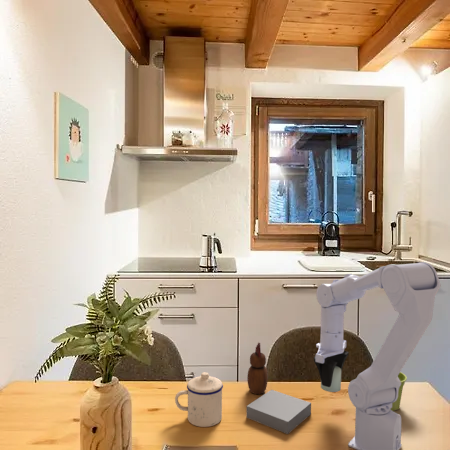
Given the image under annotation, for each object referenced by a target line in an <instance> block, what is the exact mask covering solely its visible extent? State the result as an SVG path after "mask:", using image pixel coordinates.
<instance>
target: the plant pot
mask: <svg viewBox="0 0 450 450" xmlns="http://www.w3.org/2000/svg"><path fill="white" fill-rule="evenodd" d="M398 378H399V380H400V382H401V385H400V387H399V391H398V398H397V400H396V401H395V402H393V403H392V408H391V410H392V411H393V412H395V411H396V410H400V406H401V400H402V396H403V395H402V394H403V388H404V386H405V383H406V381H407V379H408V377H407V375H406V374H404V373H403V372H401V371H400V373H399V375H398Z"/></svg>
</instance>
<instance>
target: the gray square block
mask: <svg viewBox="0 0 450 450" xmlns="http://www.w3.org/2000/svg"><path fill="white" fill-rule="evenodd" d="M245 410H246V411H245V412H246V415H245V417H246V418H247V419H249V420H252V421H254V422H257V423H259V424H261V425H263V426H265V427H266V426H267V427H269V428H272V429H275V430H277V431H279V432H281V433H284V434H286V435H289V434H290V433H291V432H292V431H293V430H294V429H296V428H297V427H298V426H299V425H300V424H302V423H303V422H304V421H305V420H306V419H308V417H309V416H311V415H312V402H311V401H306V400H303V399H301V398H298V397H296V396H295V397H294V396H291V395H289V394H286V393H283V392H280V391H277V390H274V389H270V390H269V391H267V392H266V393H263V395H261V396H260V397H258V398H256V399H255V400H254V401H252V402H251V403H249V404H248V405H247V404H246V409H245Z"/></svg>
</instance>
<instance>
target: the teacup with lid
mask: <svg viewBox="0 0 450 450" xmlns="http://www.w3.org/2000/svg"><path fill="white" fill-rule="evenodd" d="M223 388H224V385H223V382H222V380H220V379H219V378H217V377H215V376H211V375H210V374H209V372H207V371H205V372H204V371H202V372H201V374H200V375H199V376H195V377H193V378H191V379H190V380H188V381H187V384H186V389H185V390H180V391H178V392H177V393H175V396H174V397H175V398H174V401H175V406H176V407H177V408H178V409H179V410H181V411H183V412H187V420H188V422H189V423H190V424H191V425H193V426H196V427H200V428H208V427H212V426H215V425H217V424H219V423H220V422H221V420H222V419H223ZM183 395H187V406H184V405H181V403H180V402H179V397H180V396H183Z"/></svg>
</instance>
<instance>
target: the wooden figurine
mask: <svg viewBox="0 0 450 450" xmlns="http://www.w3.org/2000/svg"><path fill="white" fill-rule="evenodd" d="M266 361H267V358H266V355H265V353H263V352H261V342H257V344H256V346H255V352H252V353H251V354H250V357H249V364H250V367H249V368H248V371H247V386H248V390H249V391H250V392H251V393H252V394H255V395H262V394H264V393H265V392H266V390H267V388H268V387H267V386H268V379H269V375H268V368H267V367H266V363H267V362H266Z"/></svg>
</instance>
